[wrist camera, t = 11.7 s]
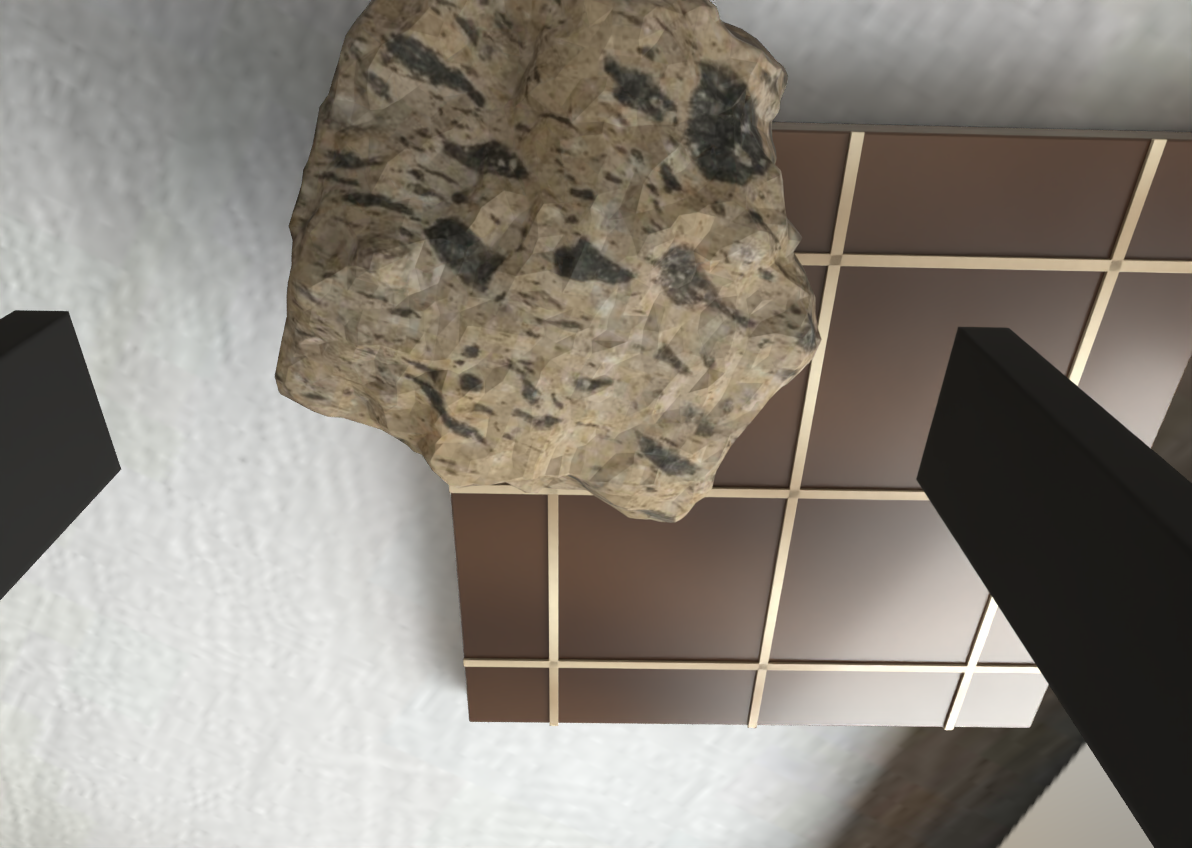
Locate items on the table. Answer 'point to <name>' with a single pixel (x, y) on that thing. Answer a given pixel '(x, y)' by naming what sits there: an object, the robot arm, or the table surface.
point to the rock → (549, 245)
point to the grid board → (848, 451)
